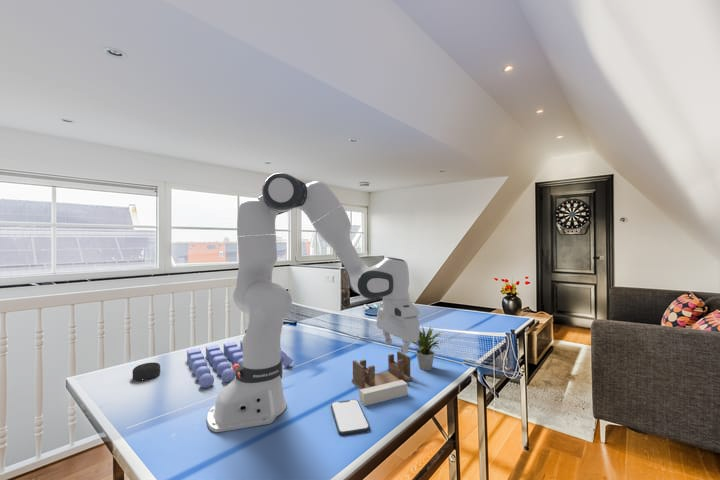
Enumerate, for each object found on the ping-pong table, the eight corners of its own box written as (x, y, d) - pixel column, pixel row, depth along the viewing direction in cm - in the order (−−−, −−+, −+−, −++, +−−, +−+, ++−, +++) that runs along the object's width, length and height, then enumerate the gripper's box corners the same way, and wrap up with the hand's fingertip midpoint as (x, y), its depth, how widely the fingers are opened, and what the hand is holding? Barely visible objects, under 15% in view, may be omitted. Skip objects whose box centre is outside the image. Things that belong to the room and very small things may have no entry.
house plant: (442, 378, 121) (442, 333, 120) (405, 373, 125) (405, 330, 125) (445, 364, 134) (445, 324, 134) (411, 360, 139) (411, 321, 138)
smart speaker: (146, 382, 120) (146, 371, 120) (126, 380, 122) (126, 369, 122) (165, 372, 129) (165, 362, 129) (146, 371, 131) (146, 361, 131)
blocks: (267, 345, 161) (267, 335, 161) (295, 368, 133) (295, 356, 133) (187, 361, 142) (186, 350, 142) (200, 392, 113) (199, 377, 113)
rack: (363, 392, 110) (363, 368, 110) (351, 382, 118) (351, 359, 118) (412, 379, 120) (411, 358, 120) (398, 371, 128) (397, 350, 128)
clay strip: (364, 406, 102) (363, 394, 101) (359, 402, 104) (359, 389, 104) (407, 395, 108) (407, 383, 108) (402, 391, 111) (402, 379, 111)
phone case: (371, 434, 88) (357, 403, 104) (371, 428, 88) (357, 398, 104) (338, 439, 86) (329, 407, 102) (338, 433, 86) (329, 402, 102)
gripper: (371, 302, 116) (372, 341, 117) (406, 313, 98) (406, 359, 98) (387, 300, 119) (387, 338, 119) (422, 311, 101) (423, 356, 101)
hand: (396, 348), depth 109 cm, fingers open, 8 cm apart
